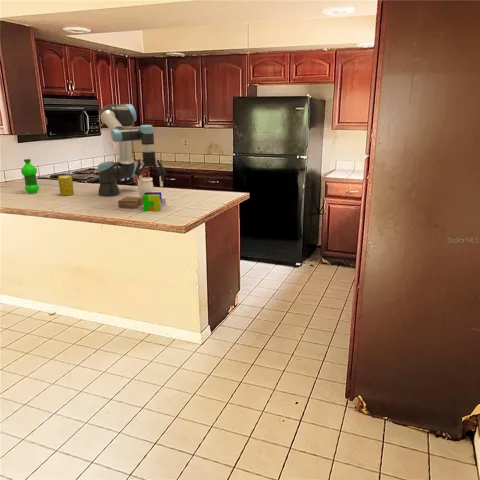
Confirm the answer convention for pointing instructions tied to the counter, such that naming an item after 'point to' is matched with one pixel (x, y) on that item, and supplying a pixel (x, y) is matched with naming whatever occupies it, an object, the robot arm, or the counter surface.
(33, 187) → the plastic bottle
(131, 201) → the walnut block
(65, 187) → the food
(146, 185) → the jar
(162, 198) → the beige wooden block
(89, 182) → the counter surface
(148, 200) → the puzzle toy
